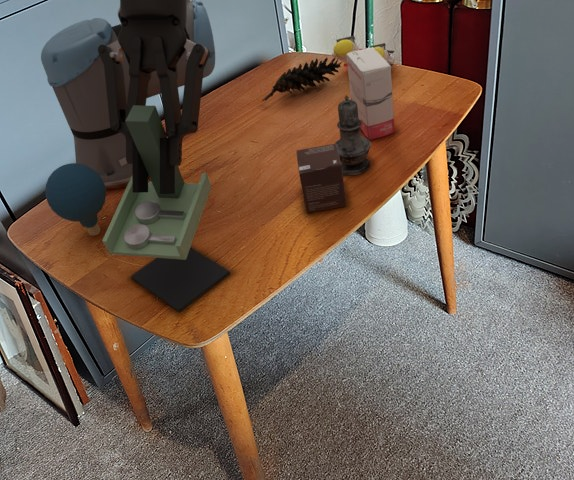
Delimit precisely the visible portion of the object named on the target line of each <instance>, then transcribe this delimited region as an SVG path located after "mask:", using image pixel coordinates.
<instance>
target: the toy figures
mask: <svg viewBox="0 0 574 480" xmlns="http://www.w3.org/2000/svg"><path fill="white" fill-rule="evenodd" d="M355 40H356V37H355V35H351V36H346V37H343V38H338V39H335V41H336V43H335V45H333V48H332V49H333V51H332V53H331V56H332V57H333V58H336V60H337V59H338V60H340V61H341V62H342V63H343V67H346V68H348V65H347V55H346V54H347V53H349V52H353V51H358V50H363V49H364V48H359V47H360V46H359V45H358V44H357V42H356V41H355ZM386 46H387V45H386V42H383V43H378V44H375V45H370V46H368V48H371V47H373V48H374V49H375V50H376V51H377V52H378V53H379V54H380V55H381V56H382V57H383V58H384V59H385V60H386V61H387V63H388V64H389V65H390V66H391V68H393V66H394V64H395V62H396V56H395V55H394V53H395V52H396V51H395V50H390V49H389V50H388V49H386Z"/></svg>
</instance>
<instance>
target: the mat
mask: <svg viewBox="0 0 574 480" xmlns="http://www.w3.org/2000/svg"><path fill="white" fill-rule="evenodd" d="M230 274H231V272H230V270H228V269H227V268H225V267H224V266H222V265H220V264H219V263H217V262H216V261H214V260H212V259H211V258H210V257H207V256H205V255H204V254H203V253H201V252H199V251H198V250H196V249H194V248H192V246H191V247H190V250H189V252H188V255H187V258H186V260H181V259H168V258H154V259H152V261H150V262H149V263H147V264H146V265H144V266H142V267H141V268H140V269H139V270H137V271H135V272H134V273H133V274H131V275H130V278H131V279H132V280H133V281H135V282H136V283H137V284H138V285H140V286H141V287H142V288H144V289H145V290H147V291H149V292H150V293H151V294H153V295H154V296H155V297H157V298H158V299H160V300H161V301H163V302H164V303H165V304H167V305H168V306H169V307H170V308H172V309H173V310H175V311H176V312H178V313H181V312H182V311H183V310H185V309H186V308H187V307H189V306H190V305H191V304H192V303H194V302H195V301H196V300H198V299H199V298H200V297H202V296H203V295H204V294H205V293H207V292H208V291H209V290H211V289H212V288H213V287H215V286H216V285H217V284H219V283H220V282H221V281H223V280H224V279H225V278H226V277H228V276H230Z"/></svg>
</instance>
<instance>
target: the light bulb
mask: <svg viewBox="0 0 574 480" xmlns="http://www.w3.org/2000/svg"><path fill="white" fill-rule="evenodd" d="M44 192H45V199H46V202H47V204H48V206H49V208H50V209H51V210H52V211H53V212H54V214H56V215H57V216H58V217H60V218H62V219H63V220H66V221H69V222H79V223H80V224H81V226H82V227H84V228H85V230H86V231H87V233H88V235H89V236H97V235H99V234H100V232H101V228H100V225H99V223H98V221H99V217H98V214H99V213H100V212H101V211H102V209H103V208H104V206H105V204H106V200H107V190H106V187H105V184H104V182H103V180H102V178H101V176H100V175H99V174H98V173H97V172H96V171H95V170H93V169H92V168H91V167H88V166H86V165H83V164H78V163H76V162H73V163H72V162H71V163H66V164H63V165H60V166H58V167H57V168H55V169H54V170H53V171H52V173H50V175H49V176H48V177H47V181H46V183H45V189H44Z"/></svg>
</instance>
